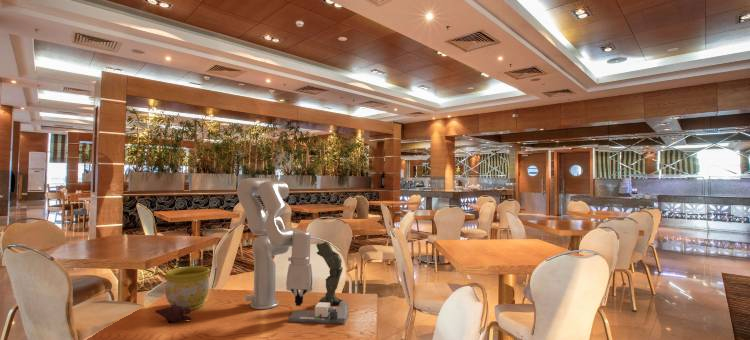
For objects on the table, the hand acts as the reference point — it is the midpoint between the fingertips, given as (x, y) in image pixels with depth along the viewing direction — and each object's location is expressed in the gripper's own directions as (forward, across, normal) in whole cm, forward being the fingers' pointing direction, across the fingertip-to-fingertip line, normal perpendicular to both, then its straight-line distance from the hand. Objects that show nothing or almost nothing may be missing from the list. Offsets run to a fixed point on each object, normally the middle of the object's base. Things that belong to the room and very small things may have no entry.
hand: (298, 304), depth 162 cm
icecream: (+7, -48, -11) cm, 50 cm away
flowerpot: (+7, -53, +6) cm, 54 cm away
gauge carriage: (+3, +12, -2) cm, 12 cm away
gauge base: (+5, +9, -1) cm, 10 cm away
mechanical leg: (+6, +9, +19) cm, 22 cm away
